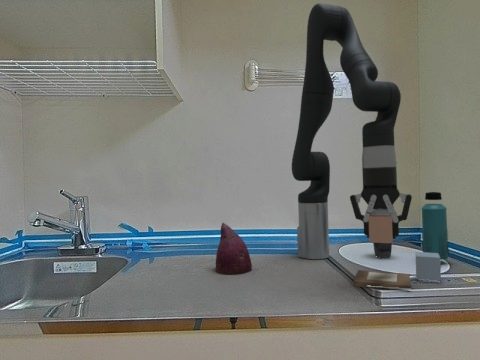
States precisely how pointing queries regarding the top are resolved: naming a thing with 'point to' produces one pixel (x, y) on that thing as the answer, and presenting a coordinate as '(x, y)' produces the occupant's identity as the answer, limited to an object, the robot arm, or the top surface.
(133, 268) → the top surface
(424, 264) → the slate block
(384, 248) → the beverage cup
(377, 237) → the terracotta block
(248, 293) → the top surface
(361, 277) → the board
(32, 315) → the top surface
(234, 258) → the vegetable
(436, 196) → the beverage bottle
